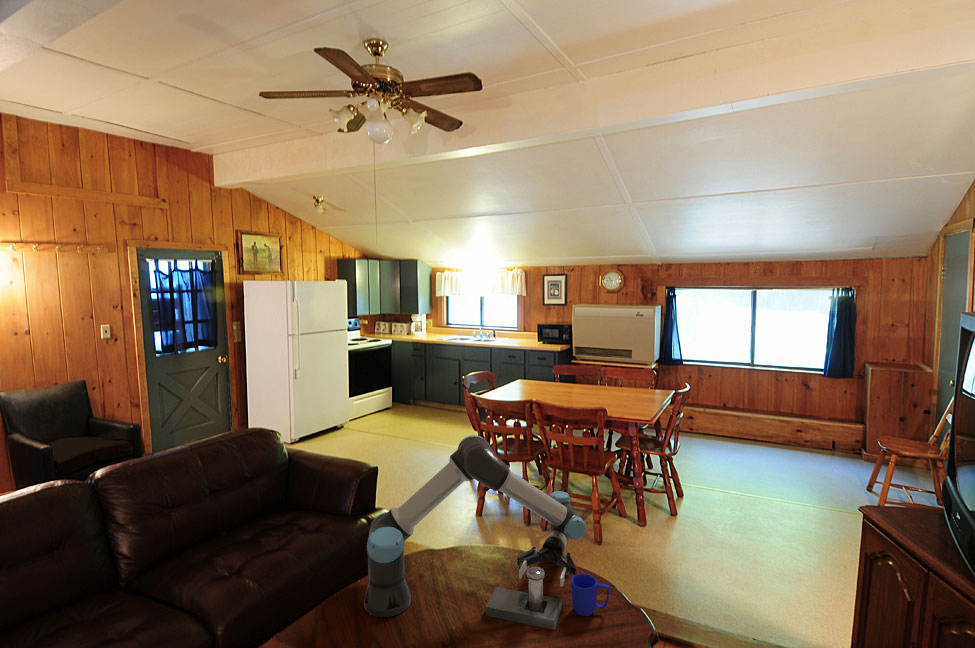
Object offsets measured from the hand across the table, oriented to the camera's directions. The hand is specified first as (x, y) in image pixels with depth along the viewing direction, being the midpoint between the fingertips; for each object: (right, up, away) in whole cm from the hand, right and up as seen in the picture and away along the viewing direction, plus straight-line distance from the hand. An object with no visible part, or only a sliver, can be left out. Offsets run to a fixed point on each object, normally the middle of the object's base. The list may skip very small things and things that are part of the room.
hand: (540, 578), depth 163 cm
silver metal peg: (-2, -10, -3) cm, 10 cm away
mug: (+16, -10, -2) cm, 19 cm away
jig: (-5, -10, -1) cm, 11 cm away
